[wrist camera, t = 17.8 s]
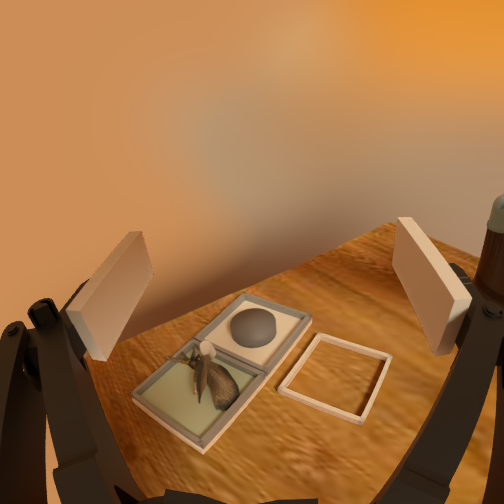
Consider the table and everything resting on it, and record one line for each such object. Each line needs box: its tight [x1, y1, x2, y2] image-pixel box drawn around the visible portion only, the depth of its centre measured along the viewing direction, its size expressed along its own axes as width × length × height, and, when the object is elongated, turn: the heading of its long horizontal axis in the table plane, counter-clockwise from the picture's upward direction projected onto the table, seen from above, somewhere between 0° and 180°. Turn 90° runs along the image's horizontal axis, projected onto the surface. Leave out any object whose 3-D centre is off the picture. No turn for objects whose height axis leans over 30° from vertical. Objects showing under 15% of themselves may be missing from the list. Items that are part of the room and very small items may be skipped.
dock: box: [130, 292, 312, 455], centre depth 44 cm, size 27×13×3 cm, turn 145°
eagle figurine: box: [166, 340, 240, 412], centre depth 38 cm, size 8×7×9 cm
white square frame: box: [277, 332, 393, 426], centre depth 40 cm, size 12×12×1 cm
